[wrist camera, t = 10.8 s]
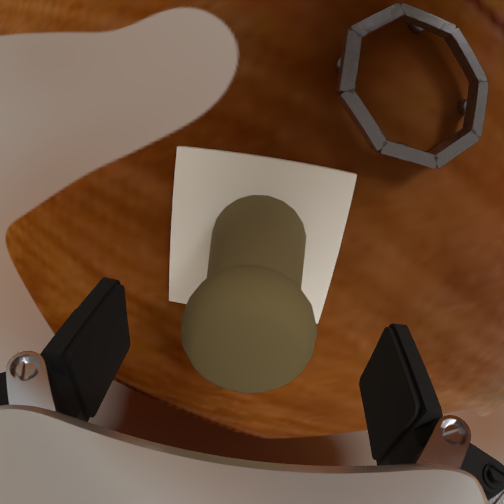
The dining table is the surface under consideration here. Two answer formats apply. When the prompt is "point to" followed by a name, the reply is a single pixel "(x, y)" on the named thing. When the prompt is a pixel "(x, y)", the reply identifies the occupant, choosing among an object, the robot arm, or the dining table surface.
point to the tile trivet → (245, 184)
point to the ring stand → (469, 107)
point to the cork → (252, 300)
